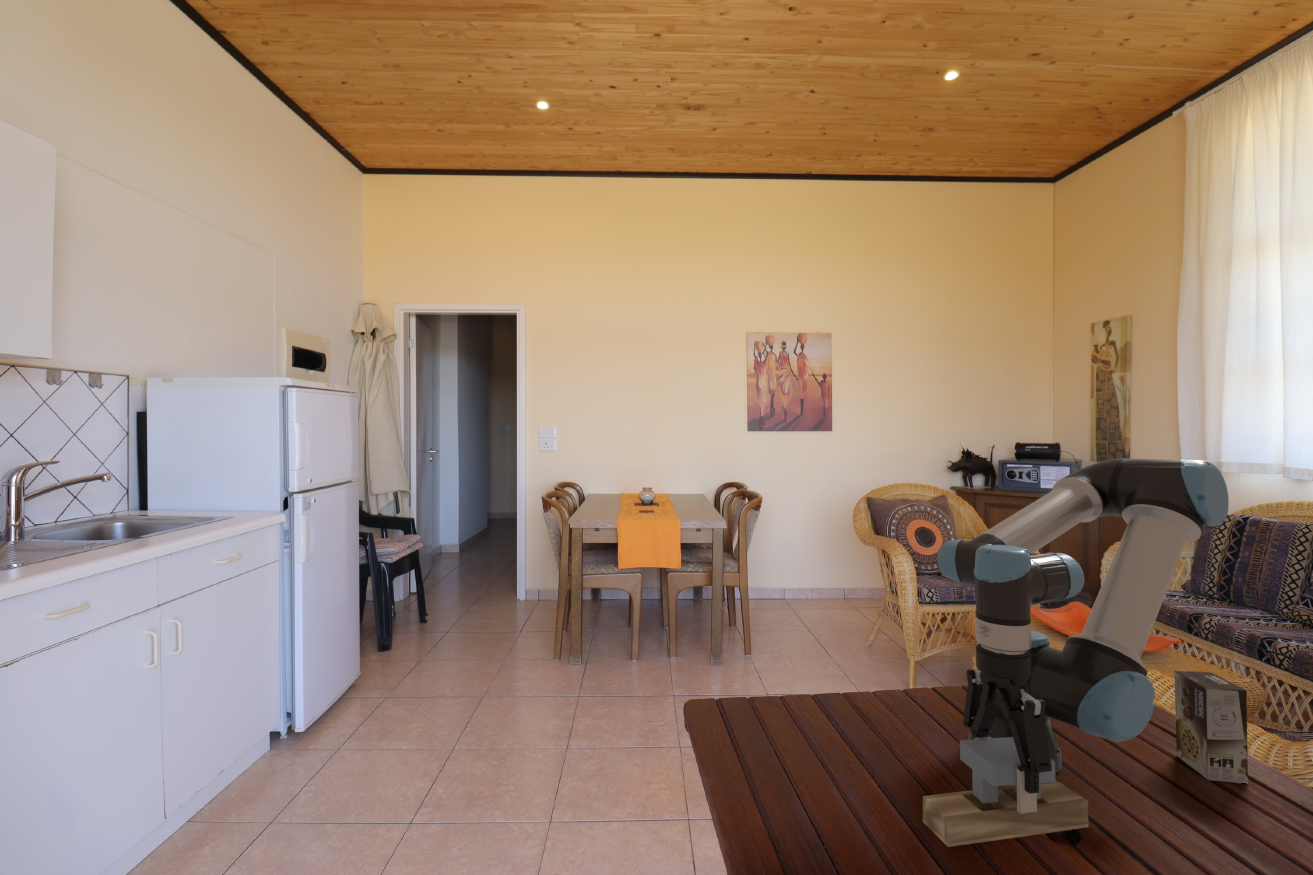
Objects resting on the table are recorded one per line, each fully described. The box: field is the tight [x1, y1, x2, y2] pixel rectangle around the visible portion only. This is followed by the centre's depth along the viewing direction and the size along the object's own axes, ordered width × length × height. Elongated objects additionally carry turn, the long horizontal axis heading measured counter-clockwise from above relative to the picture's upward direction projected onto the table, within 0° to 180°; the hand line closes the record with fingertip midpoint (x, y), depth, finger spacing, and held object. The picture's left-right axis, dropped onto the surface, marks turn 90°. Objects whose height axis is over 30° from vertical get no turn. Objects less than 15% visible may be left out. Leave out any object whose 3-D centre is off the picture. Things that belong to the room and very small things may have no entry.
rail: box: [922, 779, 1089, 848], centre depth 95 cm, size 6×24×4 cm, turn 100°
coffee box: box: [1174, 670, 1249, 785], centre depth 110 cm, size 9×6×16 cm
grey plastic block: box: [959, 737, 1056, 803], centre depth 95 cm, size 8×10×7 cm
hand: (1004, 793), depth 95 cm, fingers closed on grey plastic block, 8 cm apart
